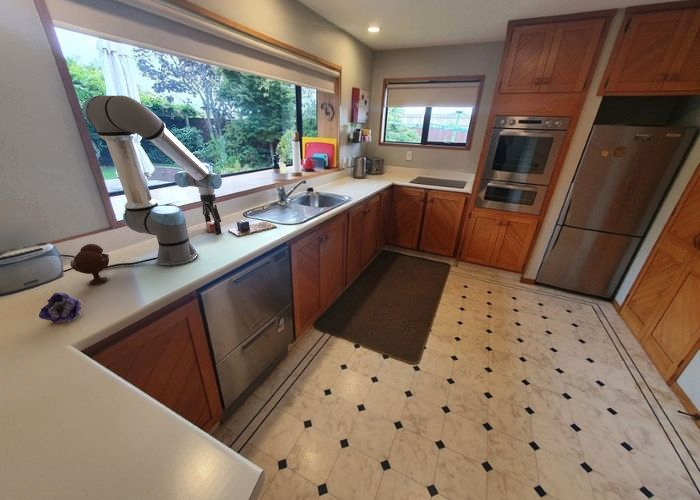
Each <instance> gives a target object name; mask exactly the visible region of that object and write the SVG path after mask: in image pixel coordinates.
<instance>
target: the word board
mask: <svg viewBox="0 0 700 500" xmlns="http://www.w3.org/2000/svg"><path fill="white" fill-rule="evenodd" d="M249 227H250V230H247V231H242V232H241V231H240V230H238V228H237V227H233V228H229V229H228V232H229V233H231V234H232V235H234V236H236V237H238V238H239V237H243V236H244V237H245V236H247V235H251V234H256V233H259V232H265V231H269V230H272V229H276V228H277V225H275V224H273V223H271V222H269V221H266V220H265V221H261V222H256V223H251V224H249Z"/></svg>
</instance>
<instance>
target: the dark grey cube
mask: <svg viewBox="0 0 700 500" xmlns="http://www.w3.org/2000/svg"><path fill="white" fill-rule="evenodd" d="M249 225H250V221H249V220H247V219H240V220H236V228H238V230H240V231H241V232H242V231H247V230H250V227H249Z"/></svg>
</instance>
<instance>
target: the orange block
mask: <svg viewBox="0 0 700 500" xmlns="http://www.w3.org/2000/svg"><path fill="white" fill-rule="evenodd" d="M205 225H207V226H206V229H207V231H208V232H209V233H210V234H212V233H216V231H215V225H214V220H211V221H210V222H206V221H205Z"/></svg>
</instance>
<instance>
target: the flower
mask: <svg viewBox="0 0 700 500" xmlns="http://www.w3.org/2000/svg"><path fill="white" fill-rule="evenodd" d="M46 301H47V304H45V305H44V306H43V307H41V308H40V311H39V314H38V317H39V319H42V320H45V321H49V322H51V323H52V324H57V323H63V324H64V323H67V324H68V323H70V322H71V321H74V320H76V319H77V318H79V317H81V309H82V301H81V300H80V299H77V298H75V297H73V296H71V295H69V294H68V293H66V292H54V293H53V294H52V295H51V297H50V298H49V299H47V300H46Z"/></svg>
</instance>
